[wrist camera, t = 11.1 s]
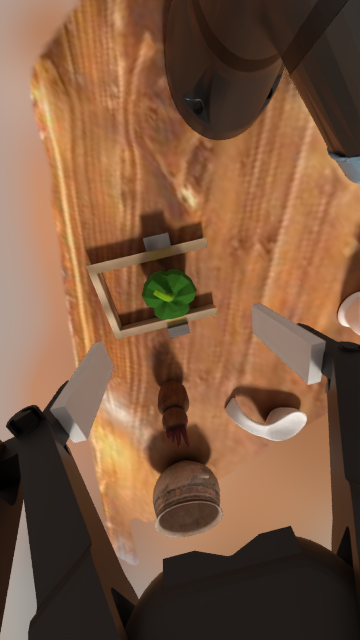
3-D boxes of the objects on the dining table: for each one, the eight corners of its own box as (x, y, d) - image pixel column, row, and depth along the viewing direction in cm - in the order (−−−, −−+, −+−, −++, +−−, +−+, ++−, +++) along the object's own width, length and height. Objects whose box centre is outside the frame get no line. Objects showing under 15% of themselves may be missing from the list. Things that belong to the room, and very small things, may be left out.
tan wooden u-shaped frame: (86, 252, 31) (78, 253, 28) (200, 225, 31) (205, 223, 28) (122, 341, 38) (118, 350, 35) (214, 318, 38) (220, 325, 35)
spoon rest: (305, 404, 52) (327, 427, 46) (283, 431, 56) (299, 456, 50) (237, 386, 47) (250, 409, 40) (217, 417, 50) (226, 443, 44)
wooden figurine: (186, 376, 43) (199, 437, 30) (184, 394, 46) (195, 459, 32) (158, 376, 42) (158, 440, 29) (157, 395, 45) (156, 462, 31)
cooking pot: (195, 490, 63) (203, 543, 52) (143, 486, 59) (139, 543, 48) (226, 444, 55) (243, 495, 44) (168, 436, 51) (171, 490, 40)
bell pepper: (197, 290, 35) (211, 306, 26) (164, 314, 37) (166, 338, 27) (172, 254, 32) (177, 257, 23) (137, 281, 34) (128, 295, 24)
